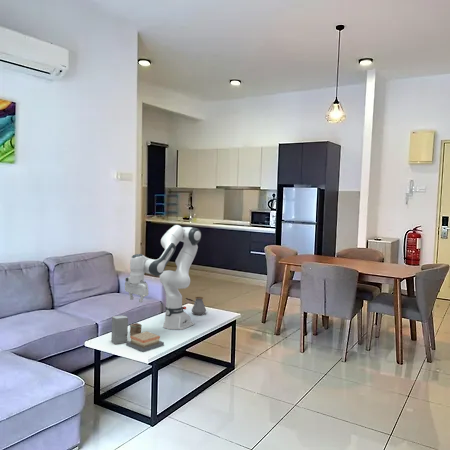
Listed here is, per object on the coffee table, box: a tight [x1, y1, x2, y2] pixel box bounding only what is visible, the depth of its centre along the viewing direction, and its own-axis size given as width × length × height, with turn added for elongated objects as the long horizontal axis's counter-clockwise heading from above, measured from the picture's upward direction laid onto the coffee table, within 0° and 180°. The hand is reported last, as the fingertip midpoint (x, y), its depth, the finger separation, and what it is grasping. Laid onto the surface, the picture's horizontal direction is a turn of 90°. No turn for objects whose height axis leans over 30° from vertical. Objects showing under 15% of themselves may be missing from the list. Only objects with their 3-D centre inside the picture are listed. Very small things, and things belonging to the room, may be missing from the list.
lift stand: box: [125, 331, 165, 353], centre depth 252 cm, size 16×16×6 cm
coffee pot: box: [183, 296, 207, 316], centre depth 323 cm, size 21×12×15 cm, turn 140°
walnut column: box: [129, 322, 142, 337], centre depth 268 cm, size 5×5×8 cm
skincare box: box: [110, 315, 129, 345], centre depth 257 cm, size 8×7×16 cm
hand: (136, 300), depth 267 cm, fingers open, 8 cm apart
